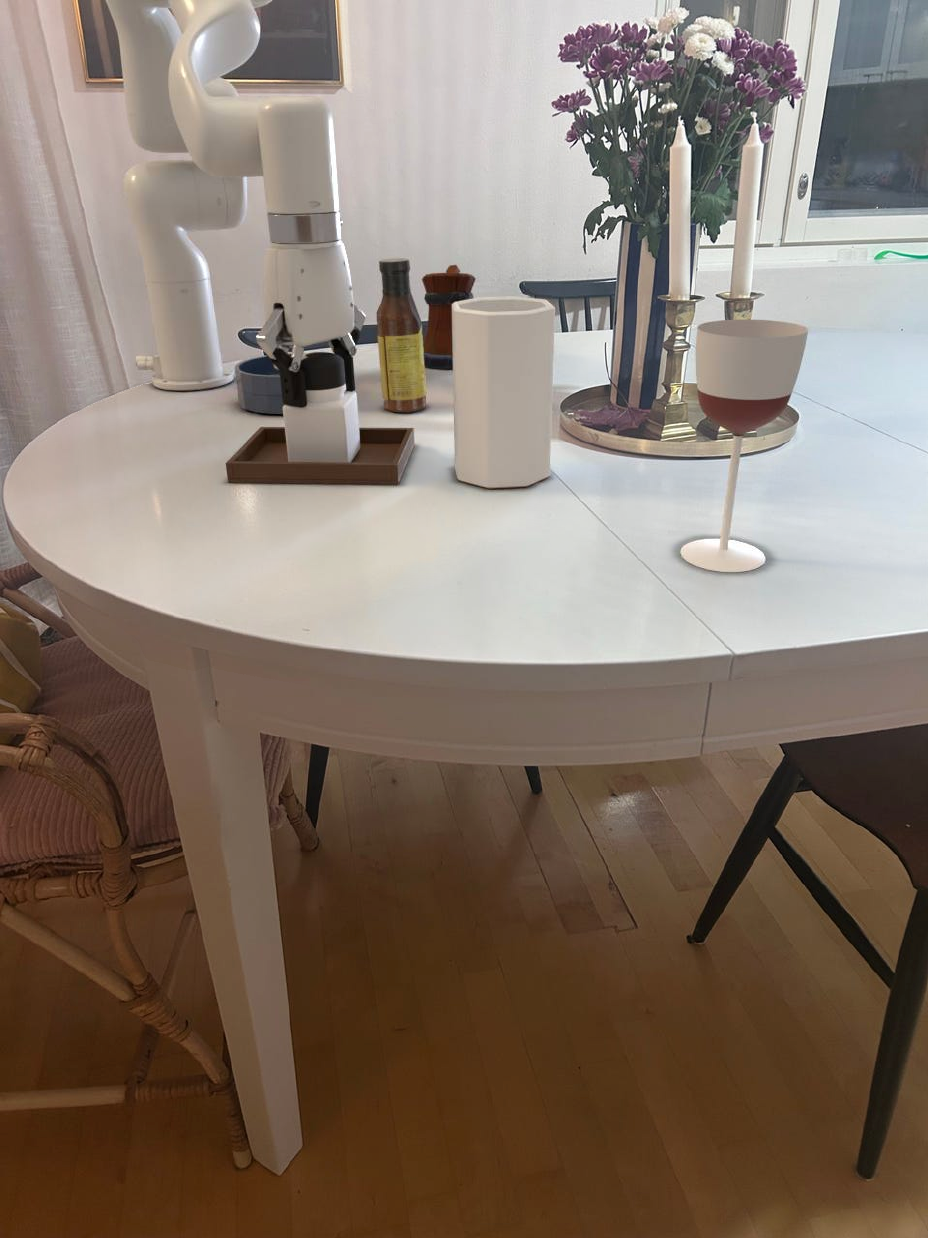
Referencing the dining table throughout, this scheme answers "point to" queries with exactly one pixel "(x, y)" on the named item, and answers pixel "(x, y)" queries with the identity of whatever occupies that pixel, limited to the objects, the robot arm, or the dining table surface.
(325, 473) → the tray
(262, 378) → the bowl
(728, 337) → the wineglass
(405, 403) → the sauce bottle
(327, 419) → the medicine bottle
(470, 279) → the wooden pepper grinder
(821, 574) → the dining table surface
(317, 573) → the dining table surface
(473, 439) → the cup
